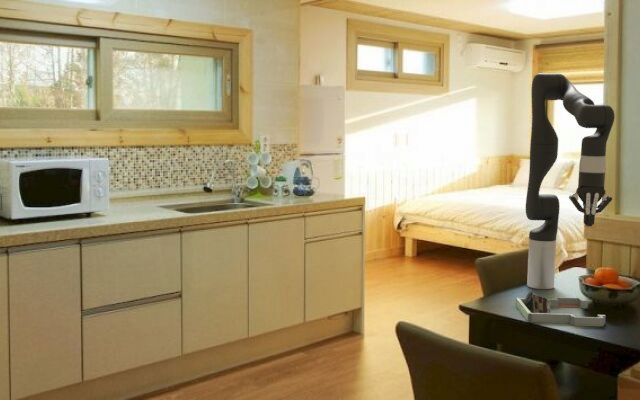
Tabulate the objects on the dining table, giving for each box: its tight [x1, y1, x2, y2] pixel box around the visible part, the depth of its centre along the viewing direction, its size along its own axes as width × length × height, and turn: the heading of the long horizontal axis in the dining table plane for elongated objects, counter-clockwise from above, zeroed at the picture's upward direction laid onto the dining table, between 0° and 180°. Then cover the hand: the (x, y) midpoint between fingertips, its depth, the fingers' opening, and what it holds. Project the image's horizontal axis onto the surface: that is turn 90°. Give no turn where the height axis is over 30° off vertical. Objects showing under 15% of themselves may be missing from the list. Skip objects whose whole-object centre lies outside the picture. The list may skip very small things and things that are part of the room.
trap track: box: [515, 296, 606, 327], centre depth 207 cm, size 23×22×2 cm
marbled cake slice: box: [524, 288, 552, 313], centre depth 208 cm, size 10×7×12 cm
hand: (588, 225), depth 210 cm, fingers closed
